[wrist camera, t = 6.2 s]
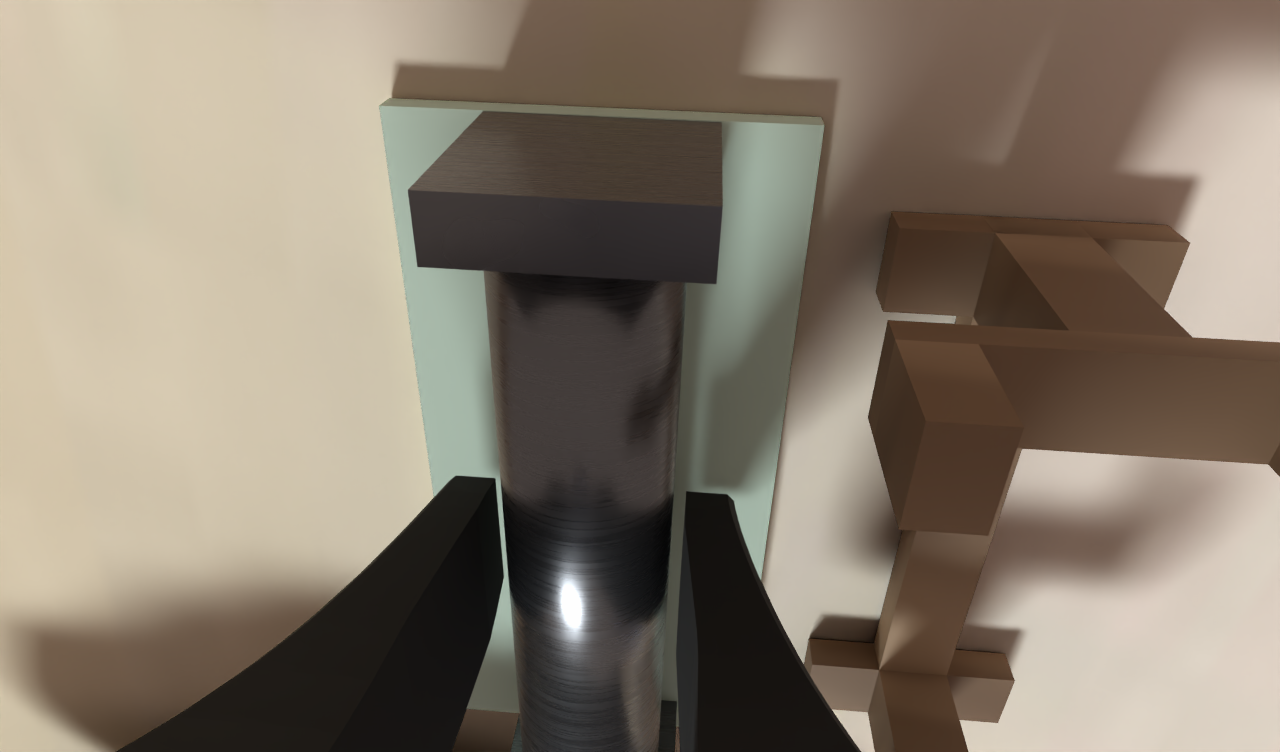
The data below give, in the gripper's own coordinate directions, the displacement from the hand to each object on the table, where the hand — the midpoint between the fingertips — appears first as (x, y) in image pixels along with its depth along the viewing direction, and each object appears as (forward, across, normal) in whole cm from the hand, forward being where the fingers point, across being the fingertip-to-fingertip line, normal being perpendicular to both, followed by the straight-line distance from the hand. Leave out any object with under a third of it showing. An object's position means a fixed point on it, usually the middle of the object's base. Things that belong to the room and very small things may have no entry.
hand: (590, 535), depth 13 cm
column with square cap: (+1, 0, 0) cm, 1 cm away
